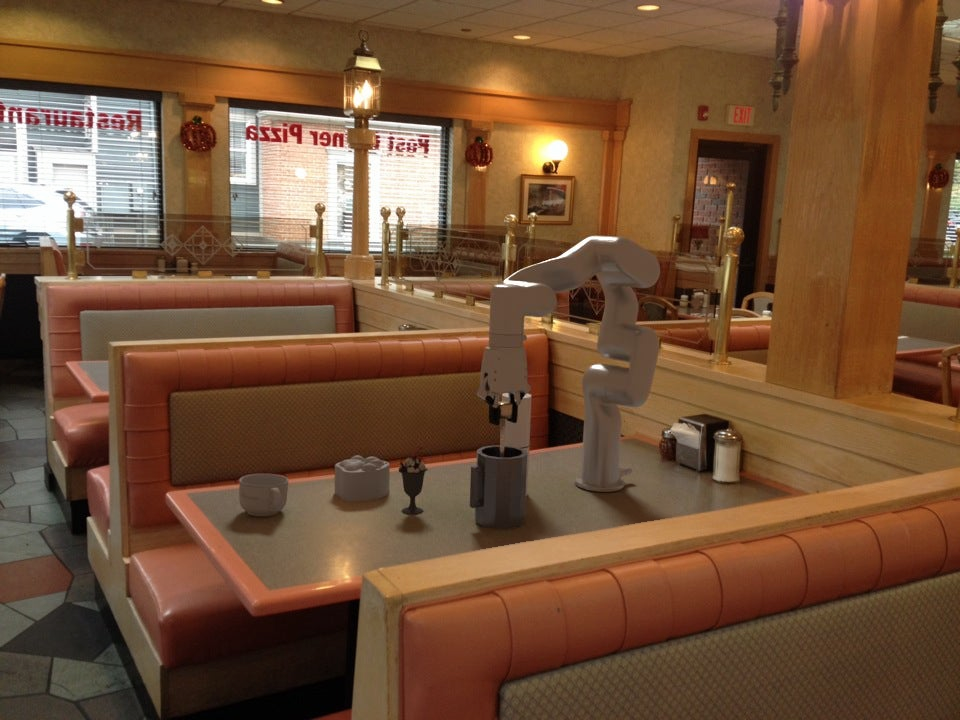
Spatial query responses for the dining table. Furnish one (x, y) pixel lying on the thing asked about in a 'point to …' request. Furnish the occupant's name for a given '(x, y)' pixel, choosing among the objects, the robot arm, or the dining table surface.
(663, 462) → the dining table surface
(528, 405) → the cylindrical container
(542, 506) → the dining table surface
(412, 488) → the sundae
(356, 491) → the lumpy-topped squat cylinder
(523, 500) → the press carafe
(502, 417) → the plunger
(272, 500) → the teacup
